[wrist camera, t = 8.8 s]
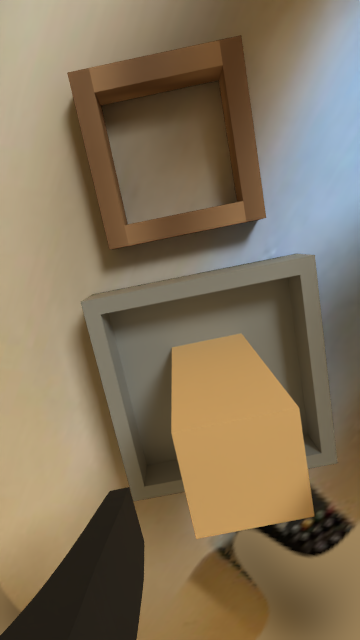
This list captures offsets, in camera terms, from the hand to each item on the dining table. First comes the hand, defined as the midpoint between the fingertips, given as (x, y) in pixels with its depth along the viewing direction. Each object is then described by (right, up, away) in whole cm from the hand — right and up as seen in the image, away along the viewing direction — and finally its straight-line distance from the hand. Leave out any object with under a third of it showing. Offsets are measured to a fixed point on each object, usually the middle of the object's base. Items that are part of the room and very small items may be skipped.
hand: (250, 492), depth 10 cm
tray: (0, +2, +10) cm, 10 cm away
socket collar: (-3, +14, +7) cm, 16 cm away
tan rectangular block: (0, +2, +9) cm, 10 cm away
